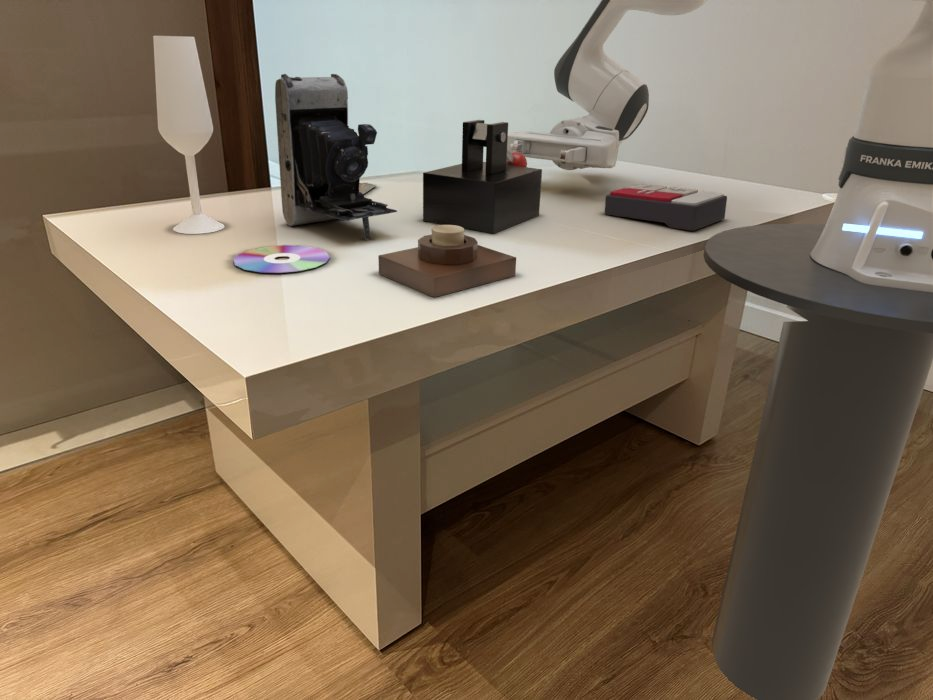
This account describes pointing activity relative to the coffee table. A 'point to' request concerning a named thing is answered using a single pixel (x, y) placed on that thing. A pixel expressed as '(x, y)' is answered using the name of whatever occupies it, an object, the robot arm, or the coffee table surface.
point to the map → (365, 187)
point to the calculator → (667, 205)
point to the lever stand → (482, 186)
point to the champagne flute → (184, 115)
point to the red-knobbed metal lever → (512, 158)
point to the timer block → (446, 266)
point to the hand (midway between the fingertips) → (538, 153)
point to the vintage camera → (321, 153)
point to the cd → (267, 263)
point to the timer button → (448, 235)
